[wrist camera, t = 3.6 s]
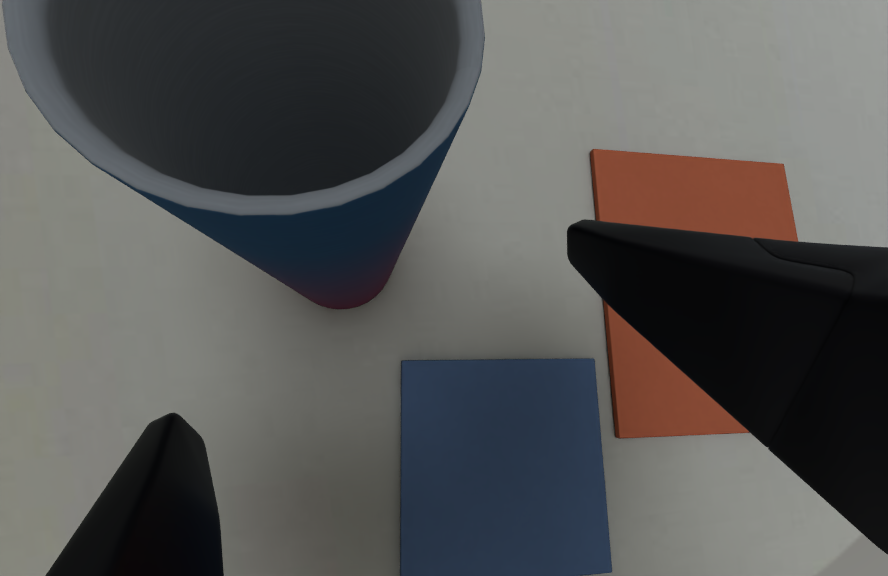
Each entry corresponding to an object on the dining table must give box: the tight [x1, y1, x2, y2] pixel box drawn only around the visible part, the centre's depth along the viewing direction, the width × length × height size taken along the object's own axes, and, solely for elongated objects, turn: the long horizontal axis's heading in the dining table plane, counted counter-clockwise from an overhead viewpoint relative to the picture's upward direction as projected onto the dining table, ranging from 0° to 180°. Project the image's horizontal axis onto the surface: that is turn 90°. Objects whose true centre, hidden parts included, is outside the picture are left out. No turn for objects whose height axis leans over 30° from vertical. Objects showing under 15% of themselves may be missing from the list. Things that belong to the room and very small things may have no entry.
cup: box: [2, 0, 485, 309], centre depth 13 cm, size 7×7×15 cm
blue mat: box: [400, 358, 612, 576], centre depth 20 cm, size 10×10×1 cm
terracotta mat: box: [590, 149, 798, 438], centre depth 24 cm, size 16×13×1 cm
